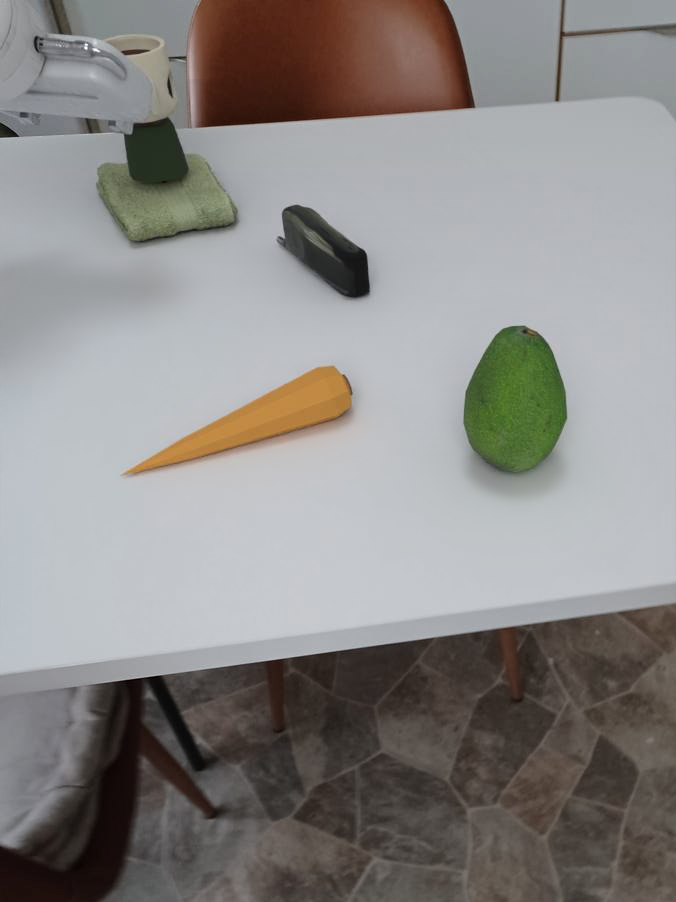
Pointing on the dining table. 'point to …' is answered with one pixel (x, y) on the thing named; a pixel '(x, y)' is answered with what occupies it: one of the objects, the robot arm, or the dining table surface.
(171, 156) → the character mug
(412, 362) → the dining table surface
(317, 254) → the black stapler
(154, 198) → the washcloth
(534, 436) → the avocado
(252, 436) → the carrot
